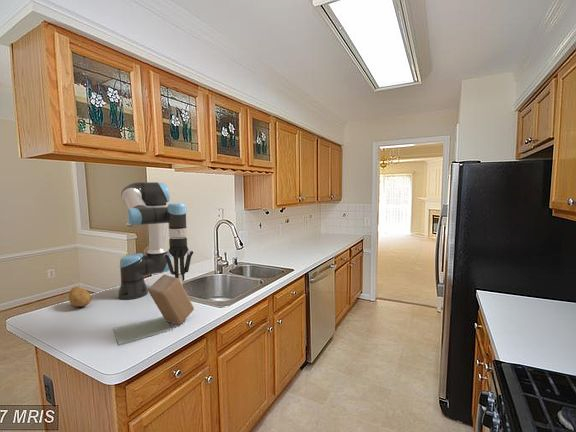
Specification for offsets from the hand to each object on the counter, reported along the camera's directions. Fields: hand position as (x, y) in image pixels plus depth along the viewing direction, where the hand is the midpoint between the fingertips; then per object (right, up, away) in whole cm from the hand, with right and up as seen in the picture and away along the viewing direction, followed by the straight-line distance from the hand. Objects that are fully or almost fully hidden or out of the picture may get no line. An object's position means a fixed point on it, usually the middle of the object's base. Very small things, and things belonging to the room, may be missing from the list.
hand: (180, 288), depth 131 cm
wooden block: (0, -13, +1) cm, 13 cm away
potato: (-59, -14, +18) cm, 63 cm away
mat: (-13, -16, -8) cm, 22 cm away
